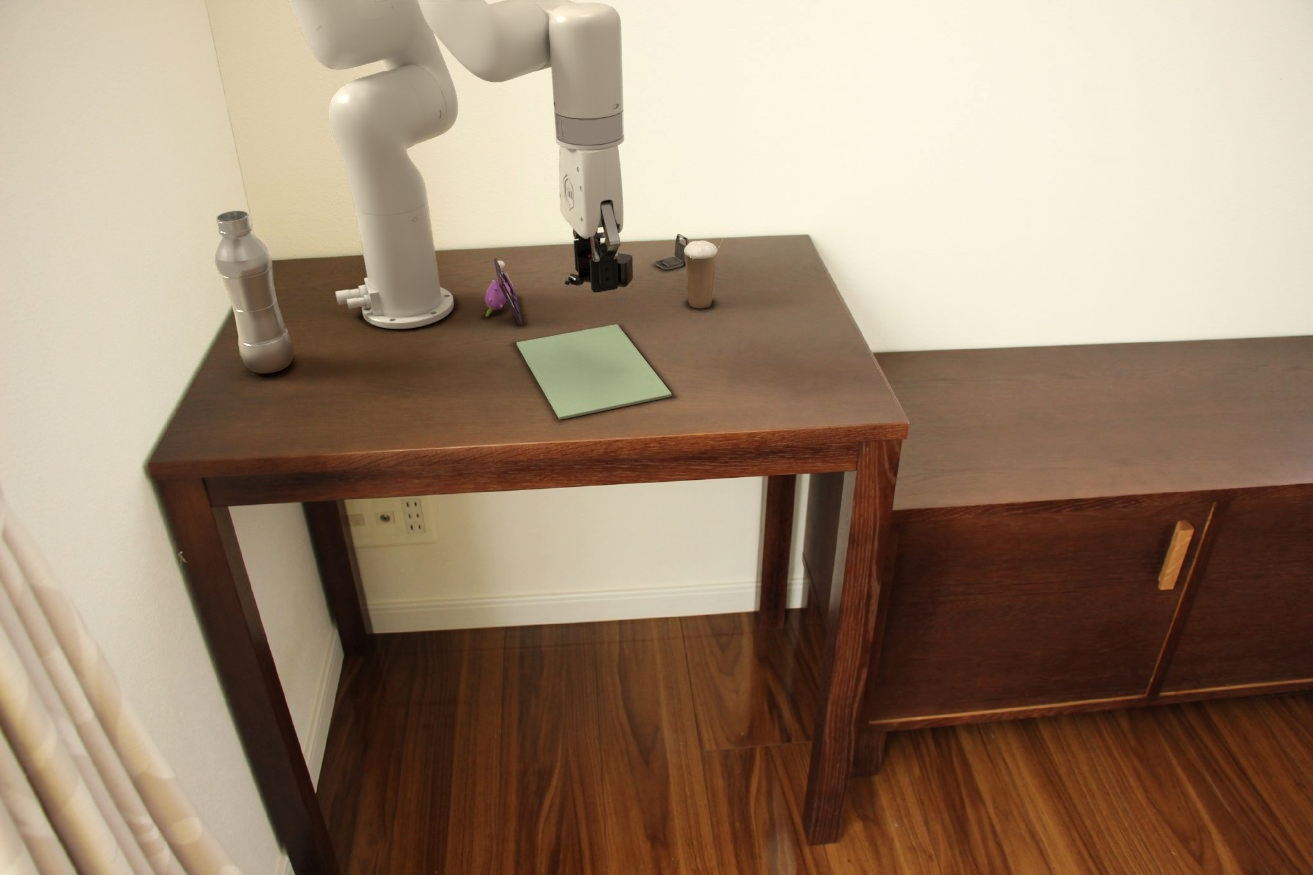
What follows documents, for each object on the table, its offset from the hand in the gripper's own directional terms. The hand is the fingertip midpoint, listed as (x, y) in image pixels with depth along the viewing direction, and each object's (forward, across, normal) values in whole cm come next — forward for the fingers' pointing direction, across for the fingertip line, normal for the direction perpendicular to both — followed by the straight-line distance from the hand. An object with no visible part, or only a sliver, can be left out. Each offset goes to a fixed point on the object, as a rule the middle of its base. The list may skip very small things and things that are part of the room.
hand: (596, 278), depth 118 cm
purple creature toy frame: (+12, -20, -8) cm, 25 cm away
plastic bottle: (+12, -16, -39) cm, 44 cm away
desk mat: (+12, 0, -1) cm, 12 cm away
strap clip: (+12, -27, +22) cm, 37 cm away
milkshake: (+12, -12, +19) cm, 26 cm away
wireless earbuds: (+1, 0, 0) cm, 1 cm away
